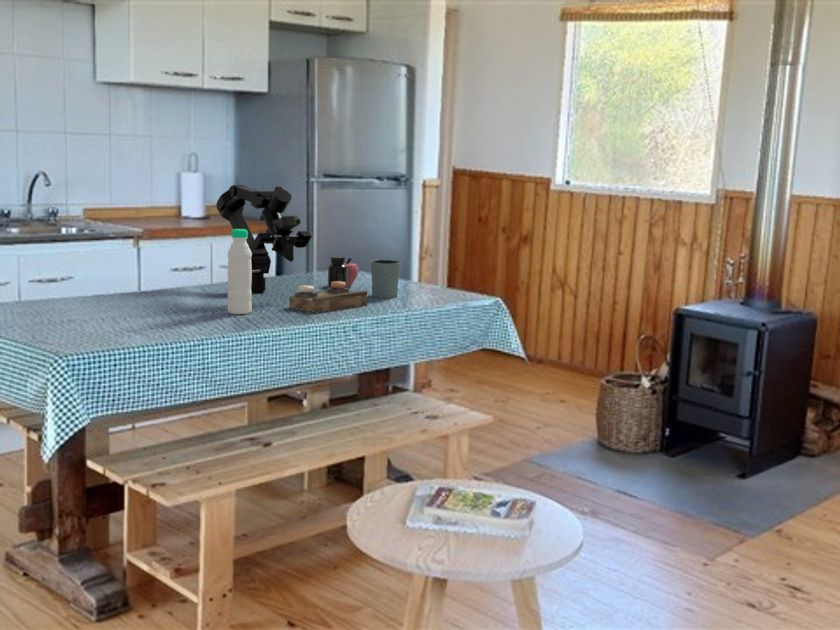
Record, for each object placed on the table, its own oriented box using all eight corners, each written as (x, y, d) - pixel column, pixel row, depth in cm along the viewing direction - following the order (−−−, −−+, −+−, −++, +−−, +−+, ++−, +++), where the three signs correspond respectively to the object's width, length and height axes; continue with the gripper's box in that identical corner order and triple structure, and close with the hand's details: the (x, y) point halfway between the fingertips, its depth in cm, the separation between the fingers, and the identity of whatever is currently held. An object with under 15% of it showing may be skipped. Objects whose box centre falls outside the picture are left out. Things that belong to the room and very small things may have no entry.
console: (289, 307, 305) (289, 292, 304) (339, 300, 322) (340, 285, 321) (316, 313, 297) (316, 298, 296) (366, 305, 314) (367, 290, 313)
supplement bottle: (348, 290, 341) (349, 256, 339) (345, 293, 335) (346, 258, 333) (329, 289, 342) (330, 255, 340) (325, 292, 335) (326, 257, 333)
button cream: (298, 306, 303) (298, 287, 302) (298, 303, 308) (299, 285, 307) (313, 306, 304) (313, 287, 303) (313, 303, 308) (313, 285, 307)
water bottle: (231, 315, 289) (231, 230, 285) (224, 311, 295) (224, 228, 291) (254, 314, 292) (255, 230, 288) (247, 310, 299) (247, 228, 294)
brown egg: (330, 301, 314) (331, 283, 313) (330, 298, 318) (331, 281, 317) (345, 301, 314) (345, 283, 313) (345, 299, 319) (345, 281, 318)
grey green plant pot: (394, 293, 338) (395, 259, 336) (403, 298, 329) (404, 263, 327) (366, 294, 335) (367, 259, 333) (374, 299, 326) (375, 263, 323)
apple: (333, 284, 355) (334, 256, 353) (357, 284, 356) (358, 257, 354) (334, 288, 345) (334, 260, 343) (358, 288, 346) (359, 260, 344)
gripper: (257, 206, 306) (275, 246, 299) (309, 205, 317) (327, 243, 311) (245, 229, 313) (262, 268, 307) (296, 227, 325) (313, 265, 318)
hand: (291, 260), depth 310 cm, fingers closed
